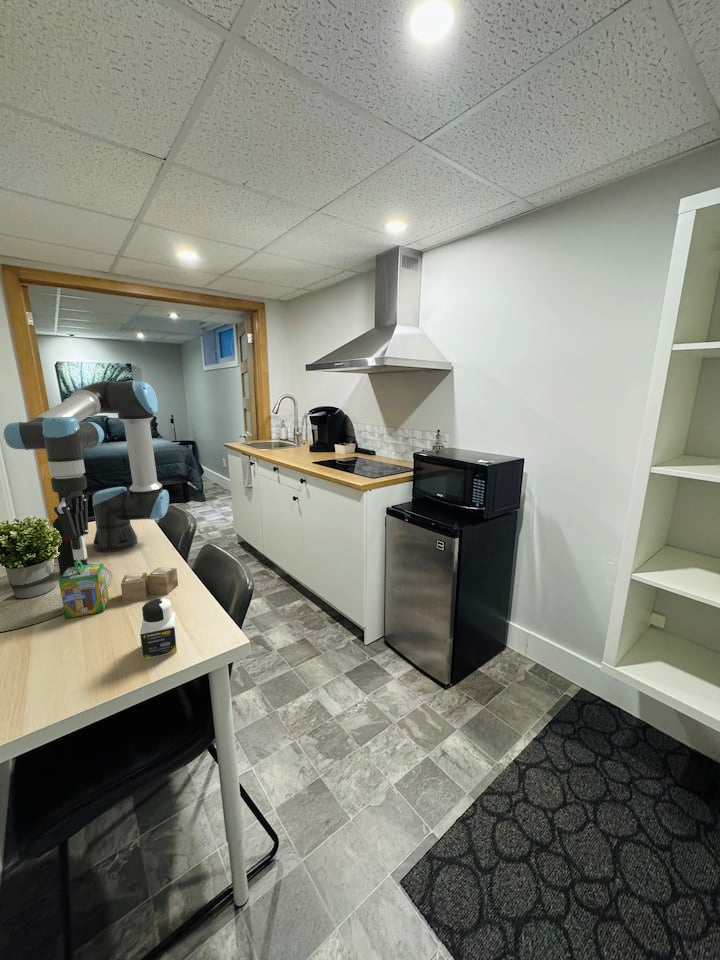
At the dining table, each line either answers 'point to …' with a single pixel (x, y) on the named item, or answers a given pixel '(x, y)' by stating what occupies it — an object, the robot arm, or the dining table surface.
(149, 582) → the walnut block
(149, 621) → the medicine bottle
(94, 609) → the chalk box
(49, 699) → the dining table surface
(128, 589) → the walnut block
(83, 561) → the wine bottle
